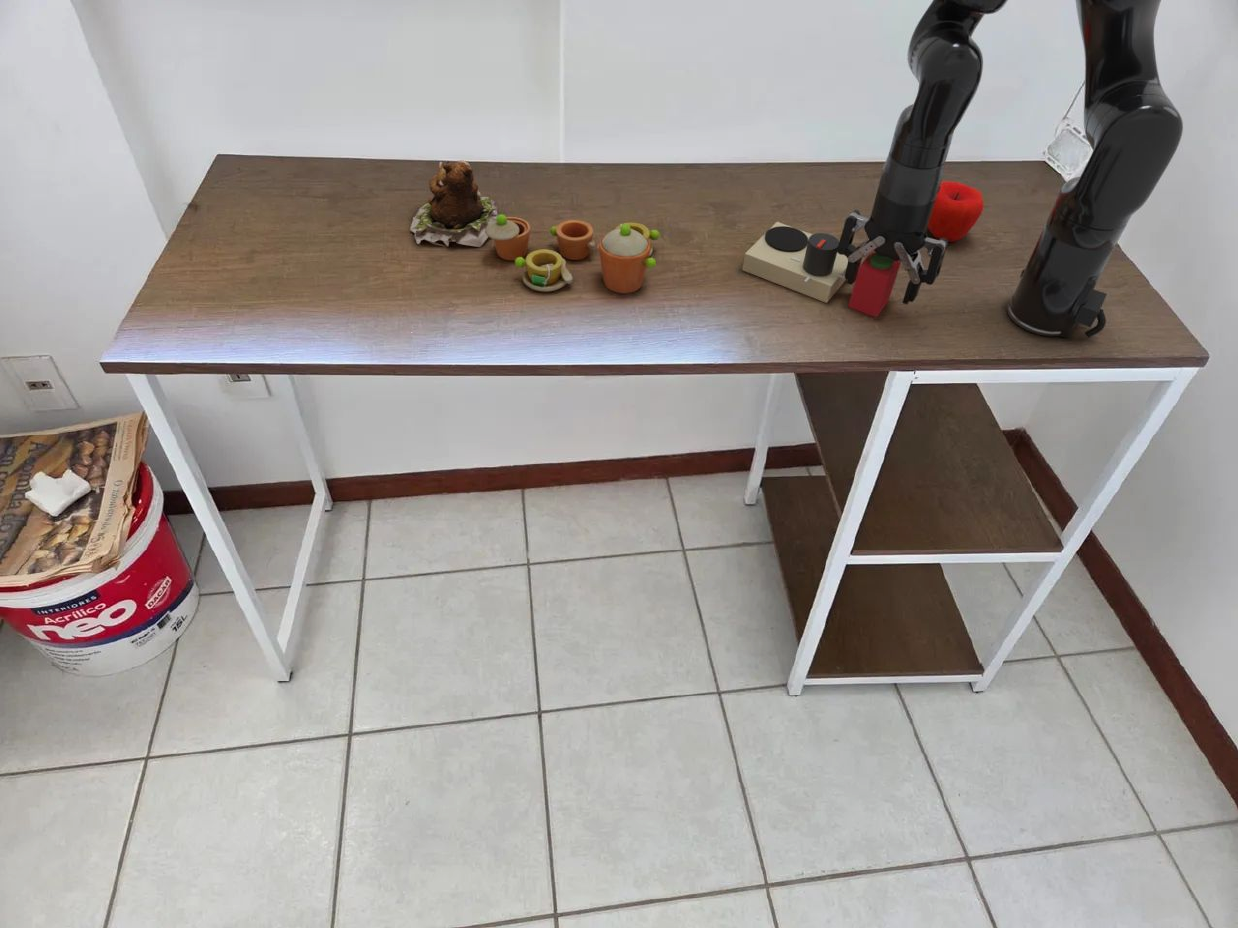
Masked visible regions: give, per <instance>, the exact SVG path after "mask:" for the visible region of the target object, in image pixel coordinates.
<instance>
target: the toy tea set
mask: <svg viewBox="0 0 1238 928" xmlns="http://www.w3.org/2000/svg"><path fill="white" fill-rule="evenodd" d="M549 232H550V235H551V236H552V237H556V240H557V244H558V250H559V253H558V252H557V251H555V250H551V249H546V248H545V249H544V248H543V249H537V250H534V251H531V252H529V253H528V248H529V241H530V233H531V225H530V223H529V222H528V221H527V220H525V219H523V218H521V217H516V216H506V215H505V214H498V216H497V219H496V220H495V221H493V222H491V223H490V224H488V225H487V227H486V228H485V233H486V235H487V236H488V238H490V239H493V242H494V246H495V250H496V254H497V255H498V257H500V258H501V259H503V260H506V261H514V265H515V266H516V268H520V269H522V268H524V267H526V269H525V270H524V271H523V273H522V280H523V283H524V284H525V285H526V286H527V287H528V288H530V289H531V290H534V291H538V292H552V291H558V290H559V289H561V288H563V287H565V285H568V284H572V283H573V281H574V279H573V275H572V273H570V271H569V270H568V268H567V267H566V266H567V261H566V260H565V259H567V260H572V261H577V260H582V259H585V258H587V257H588V256H589V254H590V253H591V249H595V250H596V252H597V253H599V259H600V267H601V273H602V279H603V280H602V281H603V283H604V286H605V287H606V288H607V289H608V290H609V291H611V292H614V293H618V294H630V293H634V292H636V291H638V290H639V289H640V288H641V287H642V286H643V283H644V279H645V275H646V271H647V268H648V269H654V268H655V267H656V265H657V261H656V259H655V258H654V257H651V255H652V254H653V245H652V243H651V242H650V240H652V241H656V240H658V239H659V238H660V232H659V231H658V230H656V229H652V230H649V228H648V227H647V226H645V225H644V224H642V223H639V222H624V223H619V225H617V226H616V227H615V228H614V230H610V231H609V232H608V233H606V234H605V235H603V236H602V237H601V239H600V240H599V241H598V245H597V244H596V241H593V236H594V227H593V226H592V225H591V224H590V223H588V222H586V221H583V220H579V219H569V220H563V221H562V222H560V223H558V224H557V225H553V226H552V227H550V230H549ZM526 255H527V256H526ZM525 256H526V257H525ZM524 257H525V258H524ZM564 258H565V259H564Z"/></svg>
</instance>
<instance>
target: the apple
mask: <svg viewBox="0 0 1238 928" xmlns="http://www.w3.org/2000/svg"><path fill="white" fill-rule="evenodd" d="M940 185H941V186H940V190H939V193H938V194H937V197H936V200H935V203H934V206H933V209H932V213H931V216H930V219H929V222H928V226H927V229H928V230H929V232H930V233H931V235H932V236H933V237H934V238H936V240H940V239H941V238H945V239H947V241H948V242H950V243H954V242H957V241H959V240H960V239H962V238H963V237H965V236H966V235H967V234H968V233H969V232H970V230H971V229H972V228H973V227H974V226H975V224H976V223H977V222H978V220H979V218H980V216H981V215H982V213H983V211H984V206H985V204H984V198H983V194H982V192H981V191H979V189H976V188H975V187H972V186H969V185H966V184H963V183H962V182H961V183H960V182H958V181H947V180H946V181H941V184H940Z"/></svg>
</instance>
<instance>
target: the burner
mask: <svg viewBox="0 0 1238 928" xmlns="http://www.w3.org/2000/svg"><path fill="white" fill-rule="evenodd" d="M792 227H793V226H790V227H786V226H779V227H774V228H771V227H770V228H771V229H770V228H769V229H768V230H767V231H766V232H765V233H766V234H765V233H764V234H765V241H766V243H767V244H768V245H769V246H770V247H772V248H774V249H776V250H779V251H783V252H798V251H801V250H803V249H805V248H806V247H807V244H808V237H807V236H806V234H804V233H803V232H802V231H803V230H802V231H800V230H801V229H799V228H797V227H796V228H795V227H793V228H792ZM798 229H799V230H798Z"/></svg>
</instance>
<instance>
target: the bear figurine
mask: <svg viewBox="0 0 1238 928" xmlns="http://www.w3.org/2000/svg"><path fill="white" fill-rule="evenodd" d="M473 171H474V169H473V168H472V167H471V165H470V163H469V162H468V161H466V160H464V159H461V160H457V161H455V162H453V163H451V162H450V161H447V162H446V163H444V164H443V162H442V161H439V162H438V170H437V173H436V174H434V175H433V176H432V177H431V178H430V180H429V182H428V187H429V191H430V192H431V193H432V194H433V195H432V196H430V197H429V198H428V201H427V203H425V204H424V205H422V206H420V207H419V209H418V210H417V212H416V214H415V215H414V216H413V217H412V220H411V221H412V222H411V225H410V228H409V230H410V232H411V233H414V239H415V242H416V244H417V245H420V244H421V241H423V240H425V241H427V242H429V243H430V244H433V245H437V246H442V247H445V246H446V247H449V245H450V242H456V244H459V245H464V246H471V247H477V248H481V247H482V245H484V243H485V242H486V241H487V239H488V238H489V237H488V236H487V235H486V233H485V228H486V227H487V225H488V224H490V223H491V222H493V221H495V220H496V219H497V216H498V215H499V214H498V208H497V202H496V201H494V200H492V199H491V198H490V197H488V196H482V194H481V192H480V191H479V186H478V184H477V183H476V182H475V181H474V180H475V179H474V178H475V176H474V173H473ZM438 241H442V242H443V244H441V243H437V242H438ZM444 244H445V245H444Z"/></svg>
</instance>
